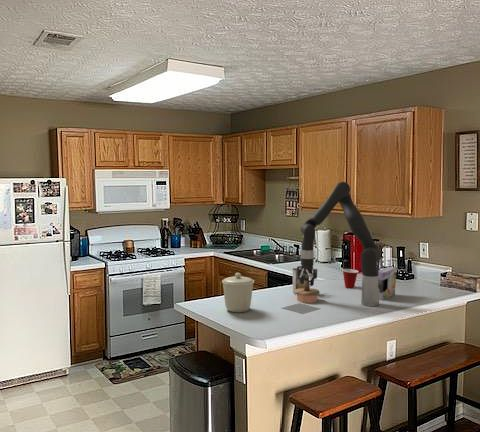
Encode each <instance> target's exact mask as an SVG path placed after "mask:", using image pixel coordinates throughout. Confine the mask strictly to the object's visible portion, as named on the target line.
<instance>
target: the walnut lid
mask: <svg viewBox="0 0 480 432" xmlns="http://www.w3.org/2000/svg"><path fill="white" fill-rule="evenodd" d="M294 293H296V294H299V295H308V296H310V295H320V290H319V289H316V288H311V286H310V280H309V281H308V280H305V281H304V288H298V289H295V290H294ZM294 293H293V294H294Z"/></svg>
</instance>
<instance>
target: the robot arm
mask: <svg viewBox="0 0 480 432" xmlns="http://www.w3.org/2000/svg"><path fill="white" fill-rule="evenodd" d="M350 193H351V187H350V185H349V183H347V182H345V181H340V182H337V184H335V187H334V188H333V190H332V191H331V193H330V195H329V196H328V198H326V200H325V201H324V202H323V203H322V204H321V205H320V206H319V207H318V208H317V210H315V212H314V213H313V214H312V216H311V217H309V218H308V219H307V220H306V221H305V222H303V223H302V225H301V226H300V233H301V234H302V235H303V240H302V241H301V251H300V265H298V266H296V268H297V276H299V277H300V283H301V284H304V278H303V277H304V275H305V274H307V275H308V276H309V281H310V287H313V286H314V284H315V280H317V279H318V269H317V268H314V263H315V261H314V259H315V258H314V256H315V253H314V241H315V237H316V229H315V228H316V227H318V226H320V225H321V224H323V222H324V221H325V220H326V219H327V218H328V216H329V215H330V214H331V212H332V211H333V209H334V208H335V206H336V205H337V204H338V203H339V205H340V207H341V209H342V212H343V214H344V216H345V219H346V222H347V224H348V226H349V229H350V231H351V232H352V233H353V235H354V236H355V237H356V238H357V240H358V241H359V242H360V243H361V245H362V248H363V250H362V252H361V253H360V270H361V274H362V275H361V305H363V306H367V307H375V306H379V305H380V300H379V292H380V289H379V288H378V275H379V272H378V271H379V270H378V268H377V263H378V262H379V261H380V260H381V257H382V253H381V251H380V249H379V248H378V247H379V246H377V245H376V242H375V240H374V239H373V237H372V234H371V233H370V230H369V228H368V226H367V223H366V221H365V220H364V217H363V215H362V213H361V212H360V211H359V209H358V208H357V206H356V205H355V203H354V202H353V199H352V197H351V194H350ZM301 269H302V272H301Z"/></svg>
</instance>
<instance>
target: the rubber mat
mask: <svg viewBox="0 0 480 432" xmlns="http://www.w3.org/2000/svg"><path fill="white" fill-rule="evenodd" d="M281 309H283V310H286V311H290V312H293V313H294V312H295V313H297V314H302V315H304V314H308V313H312V312H315V311H319V310H321V307H316V306H313V305H308V304H306V303H305V304H303V303H302V302H301V303H300V302H299V303H295V304H292V305H287V306H283V307H281Z"/></svg>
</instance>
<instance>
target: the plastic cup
mask: <svg viewBox="0 0 480 432" xmlns="http://www.w3.org/2000/svg"><path fill="white" fill-rule="evenodd" d="M341 271H342V273H343V282H344V286H345V287H344V288H345V289H354V288H355V285H356V281H357V276H358V273H359V270H357V269H351V268H342V270H341Z"/></svg>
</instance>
